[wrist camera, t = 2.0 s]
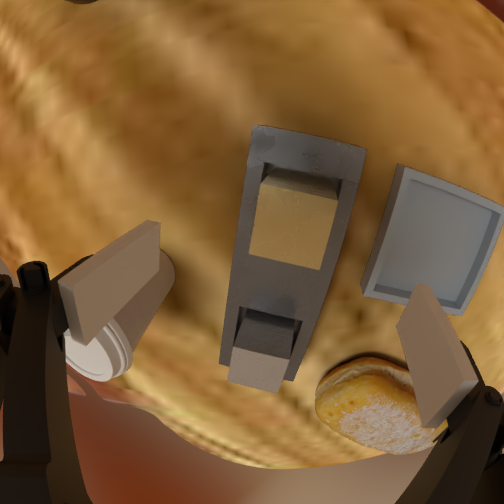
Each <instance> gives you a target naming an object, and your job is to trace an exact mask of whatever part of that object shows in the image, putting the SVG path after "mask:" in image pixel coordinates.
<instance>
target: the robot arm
mask: <svg viewBox="0 0 504 504" xmlns="http://www.w3.org/2000/svg"><path fill="white" fill-rule="evenodd" d="M66 1H69V2H72V3H76V4H85V3H90V2H93V1H96V0H66ZM159 252H160V223H159V222H155V221H150V220H147V221H145V222H143V223H142V224H140V225H139V226H137V227H135V228H134V229H132V230H131V231H129V232H128V233H126V234H125V235H123V236H121V237H120V238H118V239H117V240H115V241H114V242H112V243H111V244H109V245H108V246H106V247H105V248H103V249H102V250H100V251H99V252H97V253H96V254H94V255H93V254H92V255H90V256H87V257H84V258H82V259H80V260H79V261H77V262H76V263H75V264H74V265H72V266H70V267H69V268H68V269H66V270H64V271H63V272H62V273H60V274H59V275H57V276H56V277H55V278H53V279H52V280H51V281H50V278H49V273H48V268H47V264H45V263H44V262H41V261H32V262H28V263H25V264H23V265H22V266H20V267H19V268H18V270H17V275H18V279H19V283H20V287H21V288H18V287H13V284H12V280H11V277H10V276H9V275H5V274H3V275H1V274H0V410H1V405H2V402H3V399H4V402H3V450H4V458H3V460H2V461H0V504H93V503H92V501H91V500H90V498H89V496H88V494H87V492H86V488H85V484H84V481H83V477H82V473H81V469H80V465H79V460H78V455H77V450H76V445H75V440H74V434H73V428H72V421H71V414H70V407H69V398H68V386H67V373H66V350H65V337H64V334H63V333H64V332H65V331H66V330H68V329H69V330H70V334H71V337H72V340H74V341H76V342H78V343H80V344H82V345H84V346H87V345H88V344H89V343H90V342H91V341H92V339H93V338H94V337H95V336H96V335H97V334H98V333H99V332H100V331H101V330H102V329H103V328H104V327H105V325H106V324H107V323H108V322H109V321H110V320H111V319H112V318H113V317H114V316H115V315H116V314H117V313H118V312H119V311H120V310H121V309H122V308H123V307H124V305H125V304H126V303H127V302H128V301H129V300H130V299H131V298H132V297H133V296H134V295H135V294H136V293H137V292H138V291H139V290H140V289H141V288H142V287H143V286H144V285H145V284H146V283H147V282H148V281H149V280H150V279H151V278H152V277H153V276H154V275H155V274H156V273H157V272H158V271H159ZM396 328H397V331H398V334H399V337H400V340H401V344H402V347H403V350H404V354H405V357H406V361H407V364H408V368H409V372H410V376H411V379H412V383H413V387H414V391H415V396H416V400H417V404H418V409H419V413H420V418H421V423H422V428H438V427H439V426H440V425H441V424H442V423H443V422H444V421H445V420H446V419H447V423H448V426H447V427H446V428H445V429H444V430H443V431H442V432H441V433H440V434H439V435H438V436H437V437H436V438H435V439H434V440H433V441H432V442H433V443H434V442H436V441H437V440H438V441H437V443H436V444H435V447H434V448H433V450H432V451H431V453H430V454H429V456H428V458H427V459H426V461H425V463H424V464H423V466H422V467H421V468H420V470H419V471H418V473H417V474H416V476H415V477H414V479H413V480H412V481H411V483H410V484H409V486H408V487H407V488H406V490H405V491H404V492H403V494H402V495H401V496H400V498H399V499H398V500H397V501H396V503H395V504H504V454H502V449H503V448H504V401H503V398H502V396H501V395H500V393H499V392H498V391H497V390H496V389H495V388H493V387H491V386H485V383H484V381H483V379H482V376H481V374H480V372H479V370H478V368H477V366H476V365H475V361H474V359H473V358H472V355H471V353H470V351H469V349H468V348H467V347H466V346H465V344H464V343H463V342H462V341H460V340H459V338H458V336H457V334H456V332H455V330H454V329H453V327H452V325H451V323H450V321H449V319H448V317H447V316H446V314H445V312H444V310H443V308H442V307H441V305H440V303H439V302H438V300H437V298H436V296H435V295H434V293H433V291H432V290H431V288H430V286H429V285H425V284H421V283H416V285H415V288H414V290H413V292H412V294H411V296H410V299H409V301H408V303H407V305H406V307H405V309H404V311H403V313H402V315H401V317H400V319H399V321H398V323H397V325H396Z"/></svg>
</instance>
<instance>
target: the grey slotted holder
mask: <svg viewBox="0 0 504 504" xmlns="http://www.w3.org/2000/svg"><path fill="white" fill-rule="evenodd" d="M366 151H367V149H364V148H362V147H359V146H356V145H352V144H348V143H345V142H341V141H337V140H333V139H329V138H324V137H320V136H316V135H311V134H306V133H302V132H297V131H292V130H287V129H281V128H276V127H270V126H264V125H253V131H252V137H251V143H250V149H249V156H248V162H247V168H246V174H245V181H244V187H243V194H242V200H241V207H240V214H239V220H238V227H237V234H236V241H235V247H234V254H233V261H232V268H231V275H230V283H229V290H228V297H227V304H226V312H225V319H224V327H223V334H222V342H221V350H220V358H219V364H222V365H225V366H229V367H230V362H231V356H232V350H233V345H234V343H235V340H236V337H237V334H238V332H239V329H240V326H241V324H242V321H243V318H244V316H245V313H246V310H247V308H249V309H253V310H258V311H262V312H266V313H270V314H274V315H279V316H283V317H287V318H292V319H295V325H294V332H293V340H292V347H291V354H290V361H289V363H288V366H287V369H286V372H285V374H284V377H283V380H288V381H294V378H295V376H296V373H297V371H298V369H299V366H300V364H301V361H302V359H303V356H304V354H305V351H306V348H307V346H308V343H309V341H310V338H311V335H312V333H313V330H314V327H315V325H316V322H317V319H318V316H319V313H320V311H321V308H322V305H323V302H324V299H325V296H326V293H327V290H328V288H329V285H330V281H331V278H332V275H333V272H334V269H335V266H336V263H337V260H338V256H339V253H340V250H341V247H342V243H343V240H344V237H345V233H346V230H347V226H348V223H349V219H350V216H351V212H352V208H353V204H354V201H355V197H356V193H357V189H358V185H359V181H360V177H361V173H362V169H363V165H364V160H365V156H366ZM275 167H279V168H284V169H289V170H294V171H298V172H303V173H307V174H312V175H316V176H320V177H324V178H328V179H331V181H332V184H333V187H334V190H335V193H336V196H337V198H338V204H337V208H336V212H335V216H334V220H333V224H332V227H331V231H330V235H329V238H328V242H327V246H326V249H325V253H324V256H323V259H322V263H321V266H320V270H316V269H312V268H307V267H303V266H299V265H294V264H290V263H286V262H281V261H277V260H273V259H268V258H264V257H260V256H255V255H251V254H249V249H250V243H251V237H252V231H253V225H254V219H255V214H256V208H257V202H258V196H259V190H260V184H261V183H262V181H263V180H264V179H265V178H266V177H267V176H268V175H269V174H270V172H271V171H272V170H273V169H274V168H275Z"/></svg>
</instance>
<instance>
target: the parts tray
mask: <svg viewBox="0 0 504 504" xmlns="http://www.w3.org/2000/svg"><path fill="white" fill-rule="evenodd" d="M503 223H504V206H502V205H500V204H498V203H497V202H494V201H492V200H490V199H488V198H486V197H484V196H481V195H479V194H477V193H475V192H472V191H470V190H468V189H465V188H463V187H461V186H458V185H456V184H453V183H451V182H448V181H446V180H443V179H440V178H438V177H435V176H433V175H430V174H427V173H424V172H422V171H419V170H416V169H413V168H410V167H407V166H404V165H401V164H397V168H396V172H395V176H394V179H393V183H392V187H391V191H390V194H389V198H388V201H387V205H386V208H385V212H384V215H383V218H382V222H381V225H380V228H379V231H378V234H377V237H376V240H375V243H374V246H373V249H372V252H371V255H370V258H369V261H368V264H367V267H366V269H365V272H364V275H363V278H362V280H361V283H360V285H361V289H362V293H363V296H366V297H370V298H375V299H380V300H384V301H389V302H394V303H398V304H403V305H407V303H408V301H409V299H410V296H411V294H412V292H413V290H414V288H415V285H416V283H421V284H425V285H429V286H430V288H431V290H432V291H433V293H434V295H435V296H436V298H437V300H438V302H439V303H440V305H441V307H442V308H443V310H444V312H445V313H447V314H452V315H457V316H462V315H463V313H464V311H465V309H466V308H467V306H468V304H469V302H470V300H471V298H472V296H473V294H474V292H475V290H476V288H477V286H478V284H479V282H480V280H481V278H482V275H483V273H484V271H485V269H486V266H487V264H488V262H489V259H490V257H491V255H492V252H493V250H494V247H495V245H496V242H497V239H498V237H499V234H500V231H501V228H502V226H503Z"/></svg>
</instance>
